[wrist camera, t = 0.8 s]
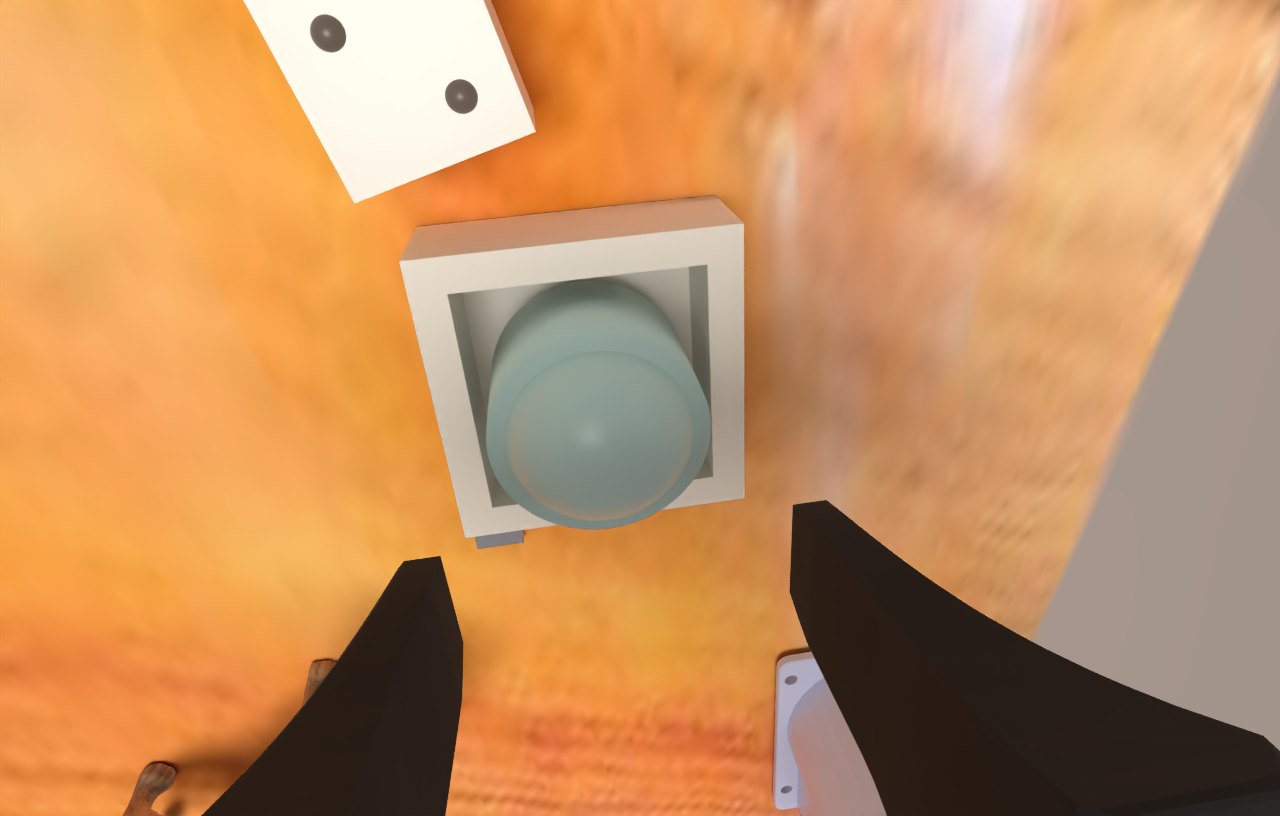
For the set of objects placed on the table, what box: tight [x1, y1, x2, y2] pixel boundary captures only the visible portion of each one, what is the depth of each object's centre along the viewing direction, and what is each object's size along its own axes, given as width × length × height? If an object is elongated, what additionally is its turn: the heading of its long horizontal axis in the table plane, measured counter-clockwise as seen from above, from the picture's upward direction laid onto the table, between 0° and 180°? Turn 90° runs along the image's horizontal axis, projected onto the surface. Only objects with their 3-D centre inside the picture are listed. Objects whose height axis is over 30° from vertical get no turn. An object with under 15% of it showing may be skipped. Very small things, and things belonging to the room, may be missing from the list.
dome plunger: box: [486, 282, 711, 529], centre depth 18 cm, size 5×5×5 cm
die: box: [244, 0, 536, 203], centre depth 16 cm, size 4×4×4 cm
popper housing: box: [399, 195, 745, 538], centre depth 20 cm, size 8×8×3 cm
